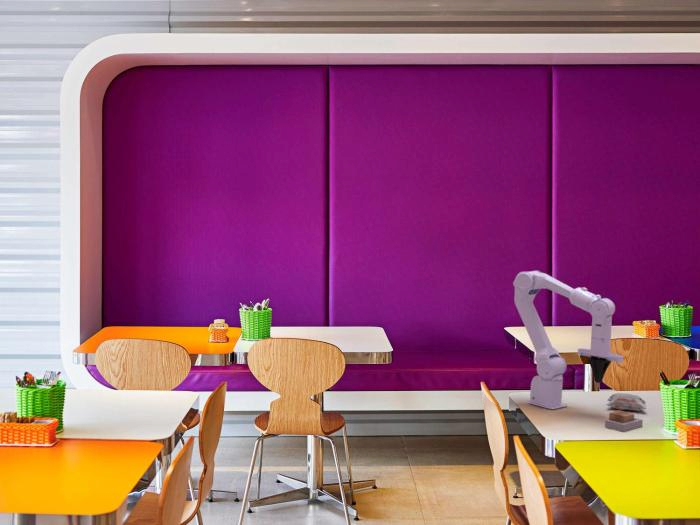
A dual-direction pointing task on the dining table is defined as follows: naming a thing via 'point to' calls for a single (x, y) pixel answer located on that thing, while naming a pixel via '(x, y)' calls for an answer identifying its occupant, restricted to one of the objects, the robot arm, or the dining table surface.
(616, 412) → the wooden cube block
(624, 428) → the purple-grey c-shaped block
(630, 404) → the packaged food
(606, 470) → the dining table surface
